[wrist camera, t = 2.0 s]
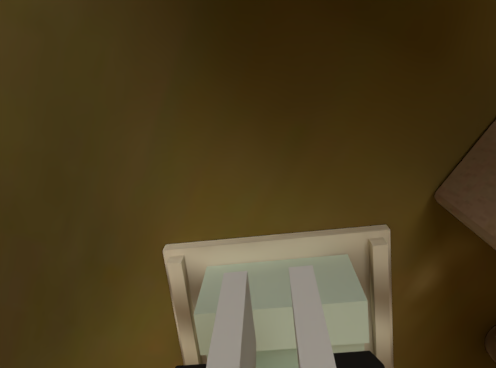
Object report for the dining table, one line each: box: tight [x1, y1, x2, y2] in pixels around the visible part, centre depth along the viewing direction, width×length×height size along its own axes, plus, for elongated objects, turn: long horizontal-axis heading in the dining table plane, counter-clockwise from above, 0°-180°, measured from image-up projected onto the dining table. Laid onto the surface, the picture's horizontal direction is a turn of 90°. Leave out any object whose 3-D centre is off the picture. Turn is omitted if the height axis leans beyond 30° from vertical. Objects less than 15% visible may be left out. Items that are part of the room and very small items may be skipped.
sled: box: [194, 254, 369, 368], centre depth 29 cm, size 11×10×6 cm
